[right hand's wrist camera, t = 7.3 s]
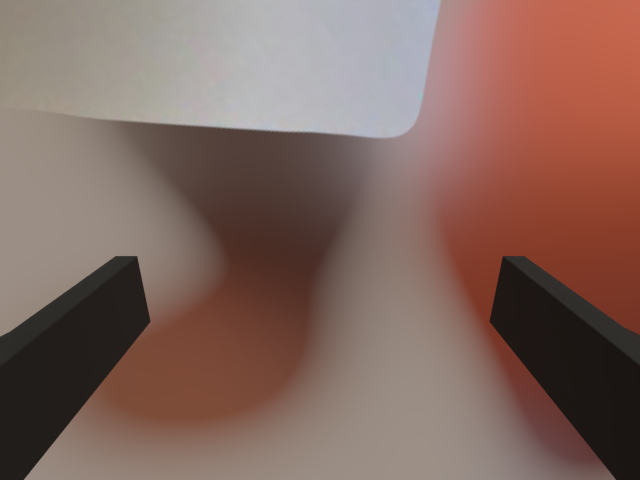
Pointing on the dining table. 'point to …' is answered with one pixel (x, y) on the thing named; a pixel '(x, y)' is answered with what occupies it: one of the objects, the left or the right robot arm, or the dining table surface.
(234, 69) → the dining table surface
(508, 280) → the right robot arm
